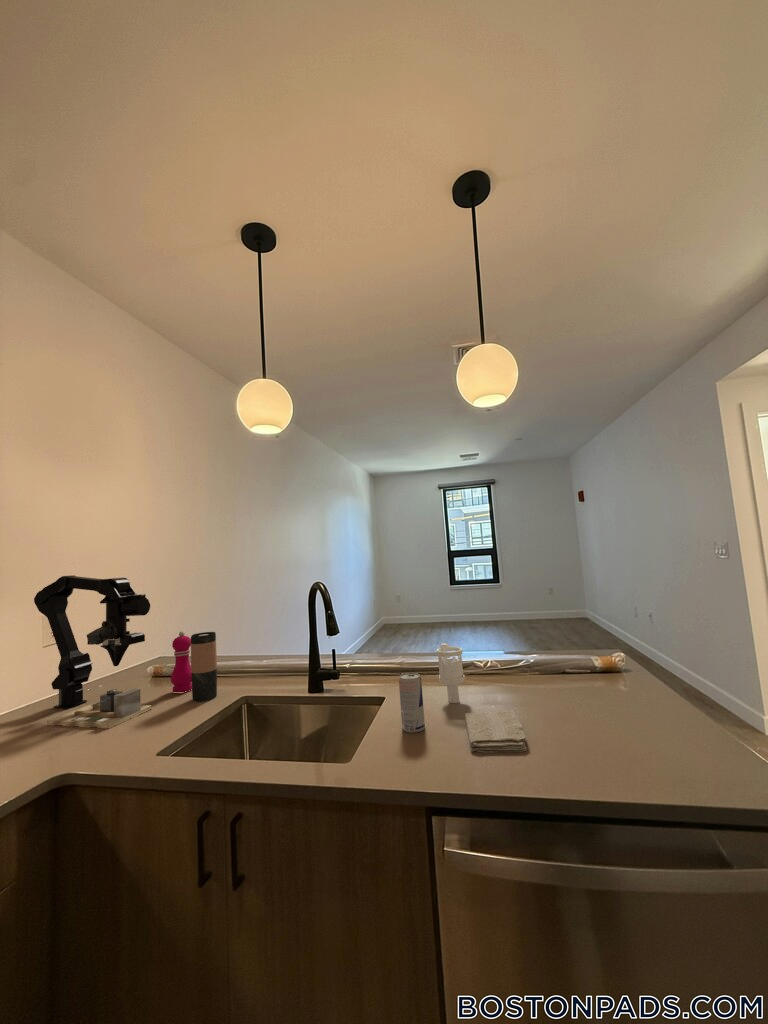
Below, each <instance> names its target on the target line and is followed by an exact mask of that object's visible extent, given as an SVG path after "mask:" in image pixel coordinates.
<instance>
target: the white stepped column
mask: <svg viewBox="0 0 768 1024" xmlns="http://www.w3.org/2000/svg"><path fill="white" fill-rule="evenodd" d="M436 655H437V658H438V659H437V661H438V671H439V672H438V674H439V676H438V682H439V683H440V684H444V685H446V690H447V691H446V692H447V702H448V703H449V704H458V703H459V702H460V695H459V694H460V693H459V684H462V683H464V682H466V678H465V677H466V676H465V674H464V669H463V658H462V655H463V648H462V647H460V646H450V645H449V644H448V643H440V647H439V648H436ZM456 656H457V657H456ZM451 657H452V658H451Z"/></svg>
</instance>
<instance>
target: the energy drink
mask: <svg viewBox="0 0 768 1024" xmlns="http://www.w3.org/2000/svg"><path fill="white" fill-rule="evenodd" d="M422 684H423V683H422V677H421V675H420V674H419V673H417V672H407V673H402V674H400V675H399V678H398V688H399V699H400V700H399V703H400V716H401V727H402V730H403V731H404V732H406V733H409V734H411V733H412V734H416V733H419V732H422V731H423V730H424V729H425V728H426V726H425V725H426V724H425V723H426V722H425V713H424V712H425V711H424V709H425V708H424V698H423V686H422Z"/></svg>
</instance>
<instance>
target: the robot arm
mask: <svg viewBox="0 0 768 1024" xmlns="http://www.w3.org/2000/svg"><path fill="white" fill-rule="evenodd" d="M74 589H75V590H85V591H93V592H96V593H98V594H99V595H103V596H104V598H103V599H101V600H100V601H99V604H100V605H101V604H103V605H104V604H105V620H103V621H102V622H101V626H100V627H98V628H96V629H94V630H93V631H91V632H89V633H88V634H86V638H87V643H86V644H87V645H91V646H94V645H96V646H97V645H100V647H101V648H102V649H104V650H106V651H107V653H108V655H109V659H110V660H111V663H112V666H113V667H118V666H119V665H120V663H121V661H122V659H123V657H124V656H125V653H126V652H127V650H128V648H129V646H130V645H134V644H138V643H143V642H145V641H146V635H145V634H144V633H143V632H133V633H131V631H130V630H127V625H128V624H127V623H129V622H131V621H130V618H129V617H137V616H138V617H141V616H146V615H148V613H149V612H150V610H151V603H150V601H149V599H148V598H147V597H146V596H147V595H146V593H142V594H141V593H140V594H138V593H137V592H136V591H135V589H134V587H132V585H131V582H130V581H129V579H128V578H127V577H113V578H95V577H87V576H86V577H85V576H76V575H72V574H71V575H62V576H60V577H58V578H57V579H56V580H55V581H53V582H52V583H50V584H48V585H46V586H45V587H43V588H42V589H41V590H39V591H38V592H37V593H36V594H35V596H34V598H33V600H34V601H33V603H34V605H35V606H36V608H37V610H38V612H39V613H40V614H42V615H43V616H45V618H47V620H48V625H49V627H50V629H51V632H52V635H53V638H54V641H55V644H56V648H57V650H58V652H59V655H60V660H59V663H58V668H57V669H58V675H57V676H56V677H55V678H54V679H53V680H52V682H51V683H50V684H51V687H52V690H58V704H57V705H54V706H53V708H54V709H70V708H73V707H76V706H78V705H81V704H84V703H86V702H88V700H87V699H84V687H83V684H84V683H87V682H89V678H90V676H91V673H92V671H93V666H92V665H93V664H94V663H93V662H92V660H91V656H90V654H89V653H88V652H86V653H83V652H82V651H80V649H79V647H78V643H77V641H76V638H75V635H74V633H73V632H74V631H73V629H72V627H71V625H70V624H71V623H70V621H69V617H68V615H67V612H66V611H67V608H68V606H69V605H68V603H69V601H68V598H69V597H70V596H71V595H72V594H73V592H74ZM101 644H102V645H101Z"/></svg>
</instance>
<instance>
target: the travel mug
mask: <svg viewBox="0 0 768 1024" xmlns="http://www.w3.org/2000/svg"><path fill="white" fill-rule="evenodd" d="M216 635H217V634H216V631H205V632H204V631H203V632H198V633H193V634H191V636H190V639H191V646H190V665H191V679H192V682H191V683H192V690H191V693H192V694H191V695H192V702H195V701H196V703H199V702H200V703H201V702H206V701H211V700H213V699H216V697H217V696H218V695H217V694H218V660H217V659H218V657H217V637H216Z"/></svg>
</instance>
